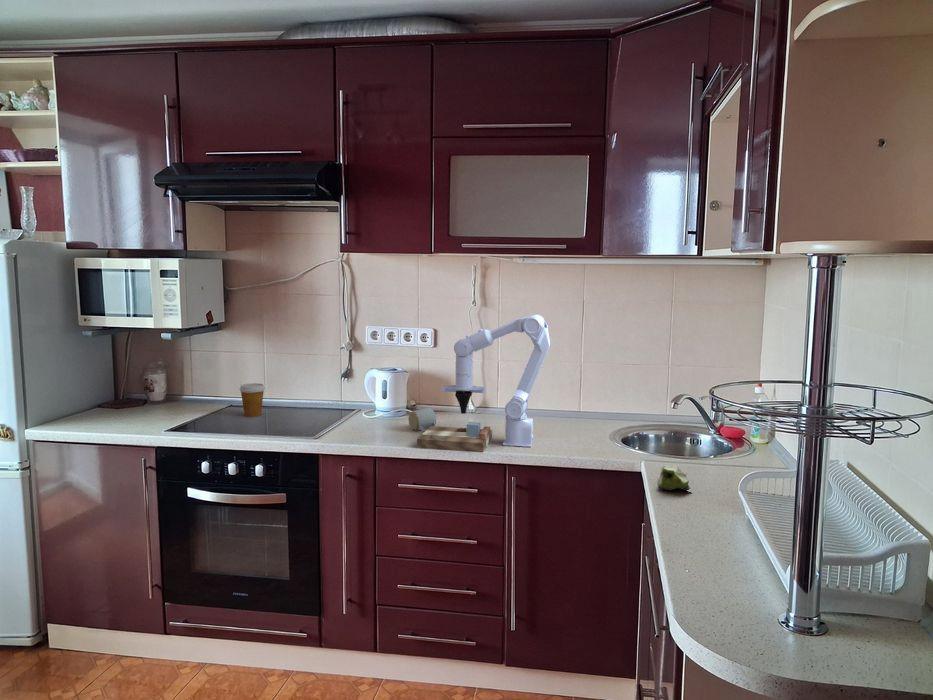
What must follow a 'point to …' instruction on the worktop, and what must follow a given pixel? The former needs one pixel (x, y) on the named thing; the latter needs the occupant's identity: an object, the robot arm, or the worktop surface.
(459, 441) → the trap board
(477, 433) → the block
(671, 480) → the fruit
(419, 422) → the ceramic mug
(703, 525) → the worktop surface
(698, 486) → the worktop surface
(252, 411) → the disposable coffee cup
